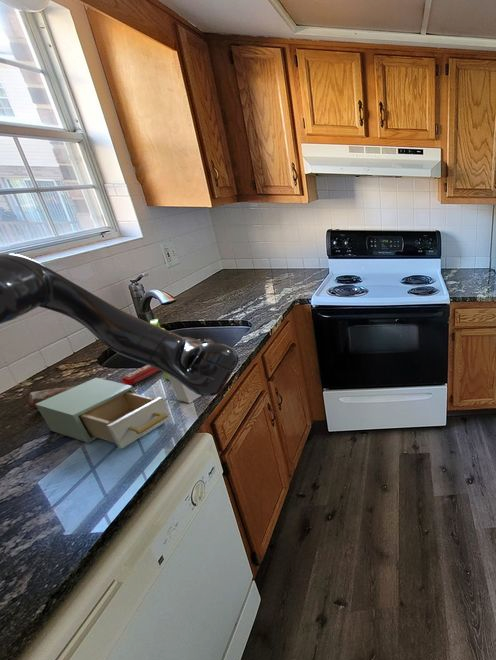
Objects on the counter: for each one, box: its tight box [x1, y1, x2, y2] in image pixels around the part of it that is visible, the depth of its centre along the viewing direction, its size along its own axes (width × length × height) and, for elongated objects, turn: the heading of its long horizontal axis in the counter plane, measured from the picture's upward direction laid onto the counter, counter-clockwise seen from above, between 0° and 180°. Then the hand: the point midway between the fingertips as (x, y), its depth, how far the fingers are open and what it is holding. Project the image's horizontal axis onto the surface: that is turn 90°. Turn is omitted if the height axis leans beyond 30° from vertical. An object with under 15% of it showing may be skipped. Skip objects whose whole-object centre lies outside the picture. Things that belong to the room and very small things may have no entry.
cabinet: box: [35, 377, 137, 443], centre depth 98 cm, size 16×14×9 cm
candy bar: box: [120, 364, 162, 386], centre depth 122 cm, size 16×4×3 cm, turn 164°
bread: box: [27, 385, 77, 411], centre depth 108 cm, size 6×19×6 cm, turn 117°
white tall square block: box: [168, 375, 202, 404], centre depth 106 cm, size 5×5×17 cm
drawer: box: [78, 392, 172, 449], centre depth 94 cm, size 19×12×7 cm, turn 71°
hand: (172, 345), depth 94 cm, fingers open, 8 cm apart
